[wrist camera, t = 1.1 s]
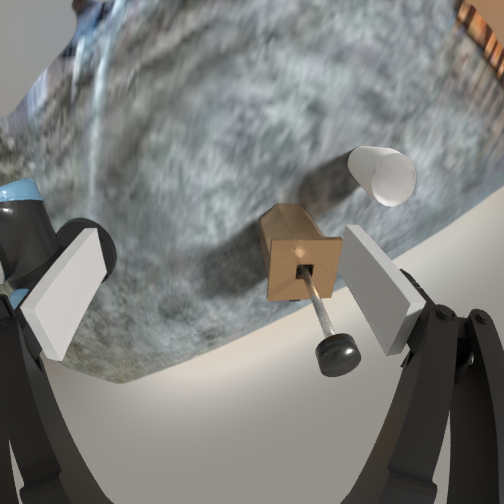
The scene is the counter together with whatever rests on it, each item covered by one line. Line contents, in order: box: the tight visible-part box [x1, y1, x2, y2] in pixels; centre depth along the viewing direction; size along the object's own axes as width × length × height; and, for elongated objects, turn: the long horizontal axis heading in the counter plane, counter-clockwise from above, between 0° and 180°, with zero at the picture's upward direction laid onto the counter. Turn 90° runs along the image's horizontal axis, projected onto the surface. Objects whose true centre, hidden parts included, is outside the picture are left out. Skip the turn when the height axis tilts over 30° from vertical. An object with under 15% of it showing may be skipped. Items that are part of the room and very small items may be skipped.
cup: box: [348, 146, 417, 206], centre depth 43 cm, size 9×9×12 cm
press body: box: [259, 204, 343, 301], centre depth 48 cm, size 10×13×15 cm
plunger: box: [296, 264, 361, 377], centre depth 35 cm, size 8×8×20 cm
